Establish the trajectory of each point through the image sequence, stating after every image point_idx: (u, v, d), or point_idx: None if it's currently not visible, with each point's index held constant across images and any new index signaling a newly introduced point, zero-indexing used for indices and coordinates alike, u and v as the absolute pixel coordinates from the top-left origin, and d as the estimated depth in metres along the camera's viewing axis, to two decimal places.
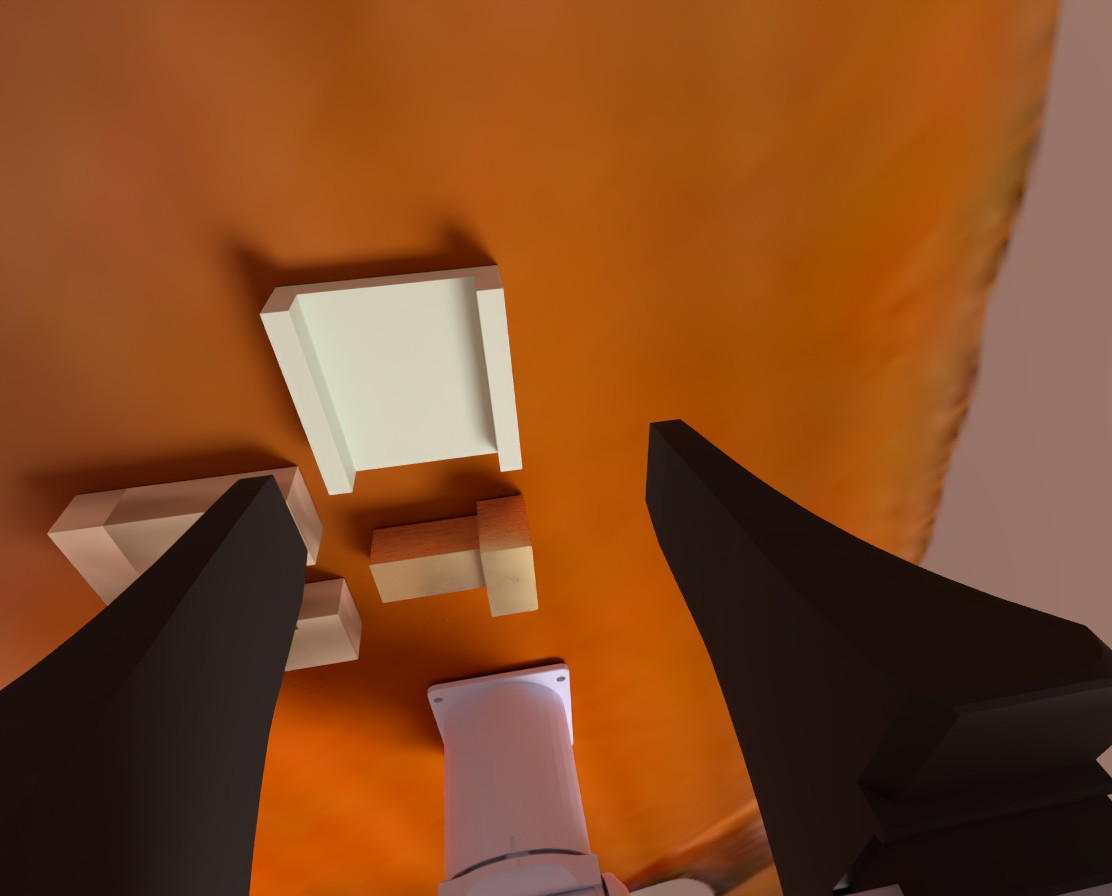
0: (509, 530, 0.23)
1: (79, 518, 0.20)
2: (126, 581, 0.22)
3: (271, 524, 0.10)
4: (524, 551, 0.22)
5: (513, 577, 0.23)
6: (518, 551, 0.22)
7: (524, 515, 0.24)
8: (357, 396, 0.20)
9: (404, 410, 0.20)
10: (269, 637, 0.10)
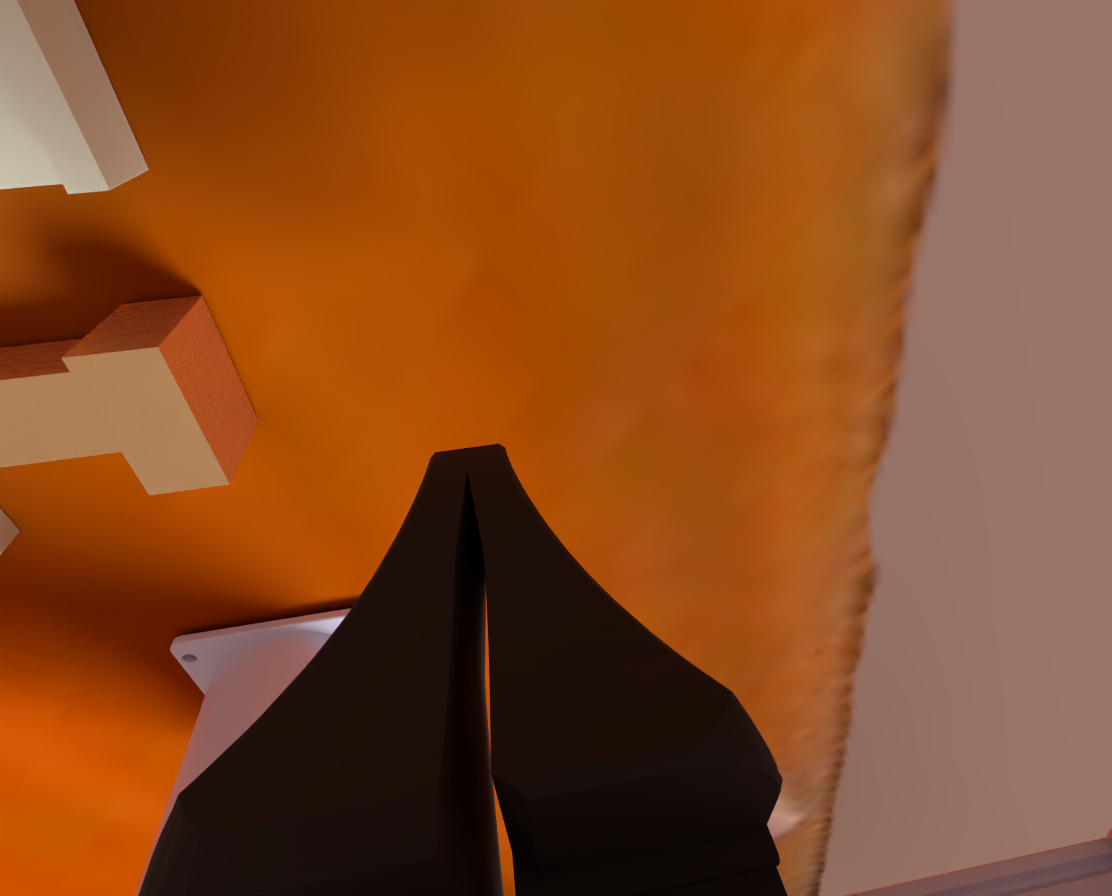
0: (139, 331, 0.13)
1: None
2: None
3: None
4: (149, 358, 0.13)
5: (152, 414, 0.14)
6: (136, 358, 0.13)
7: (182, 315, 0.14)
8: None
9: None
10: (479, 603, 0.10)
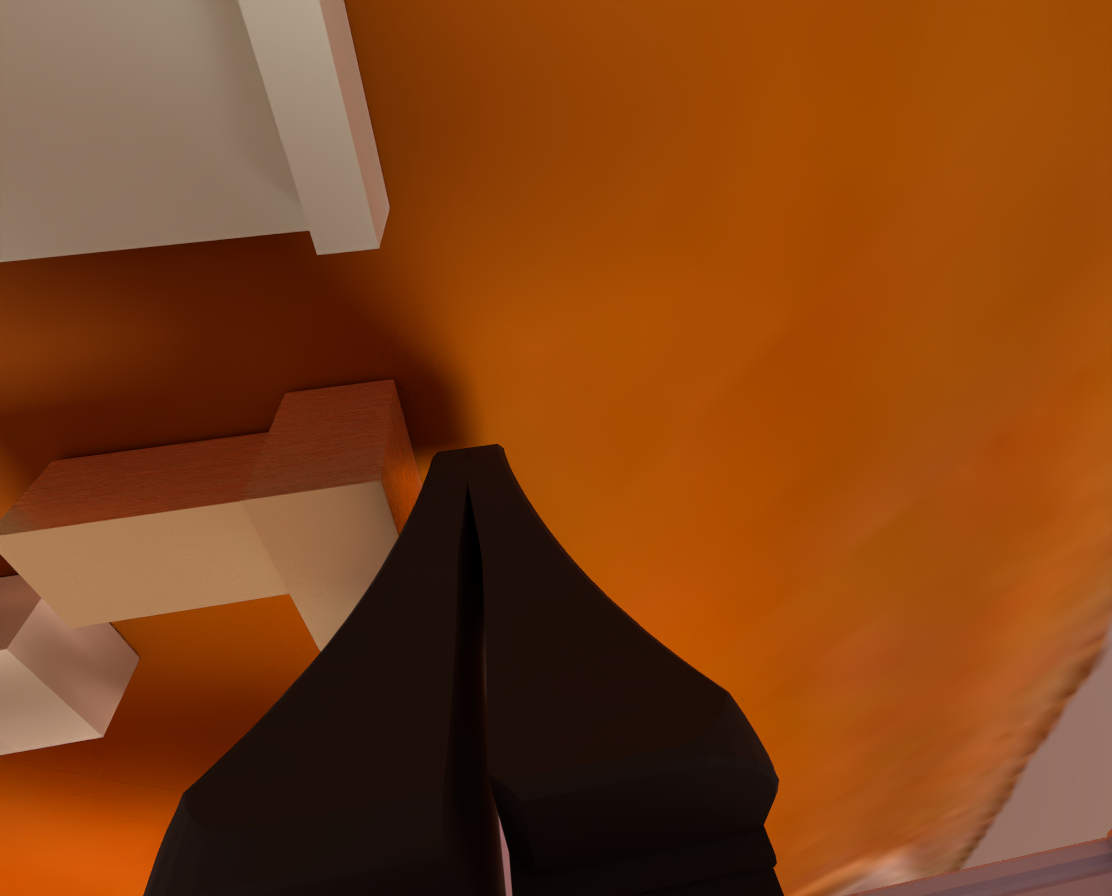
0: (336, 447, 0.09)
1: None
2: None
3: None
4: (365, 495, 0.09)
5: (351, 565, 0.09)
6: (347, 496, 0.09)
7: (384, 417, 0.10)
8: None
9: (0, 43, 0.07)
10: (481, 602, 0.10)
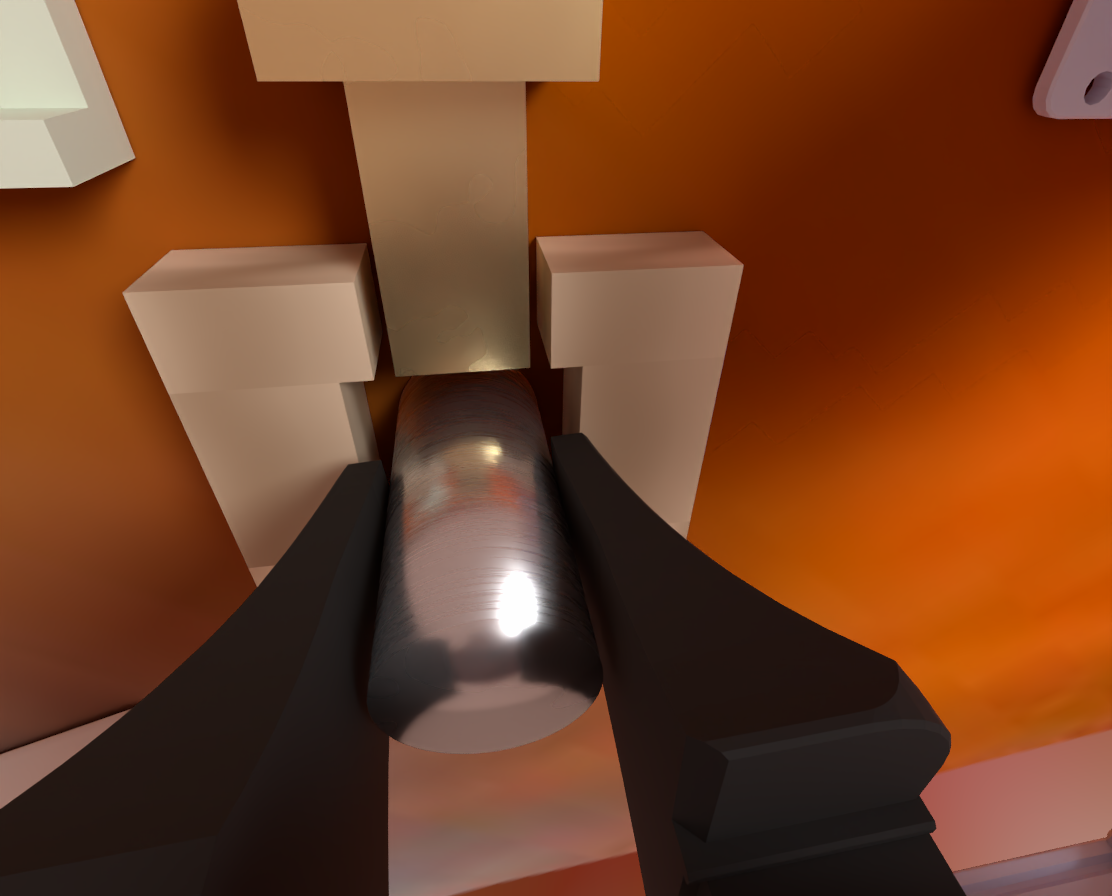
0: None
1: None
2: None
3: (383, 508, 0.10)
4: None
5: None
6: None
7: None
8: None
9: None
10: None
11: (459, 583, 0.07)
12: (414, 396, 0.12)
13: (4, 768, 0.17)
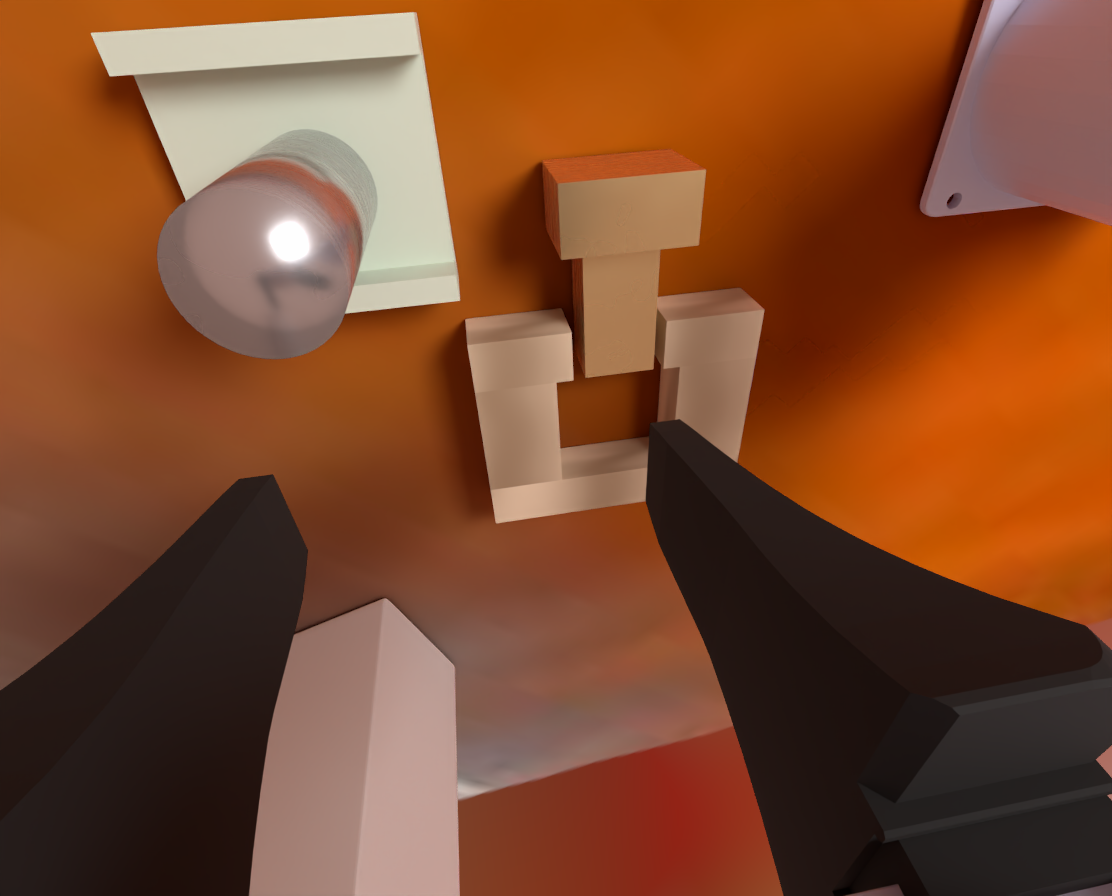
0: (553, 204, 0.16)
1: None
2: (563, 490, 0.23)
3: (271, 524, 0.10)
4: (567, 194, 0.15)
5: (619, 212, 0.16)
6: (566, 204, 0.15)
7: (548, 172, 0.16)
8: None
9: None
10: (270, 637, 0.10)
11: (207, 187, 0.10)
12: None
13: (307, 638, 0.27)
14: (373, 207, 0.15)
